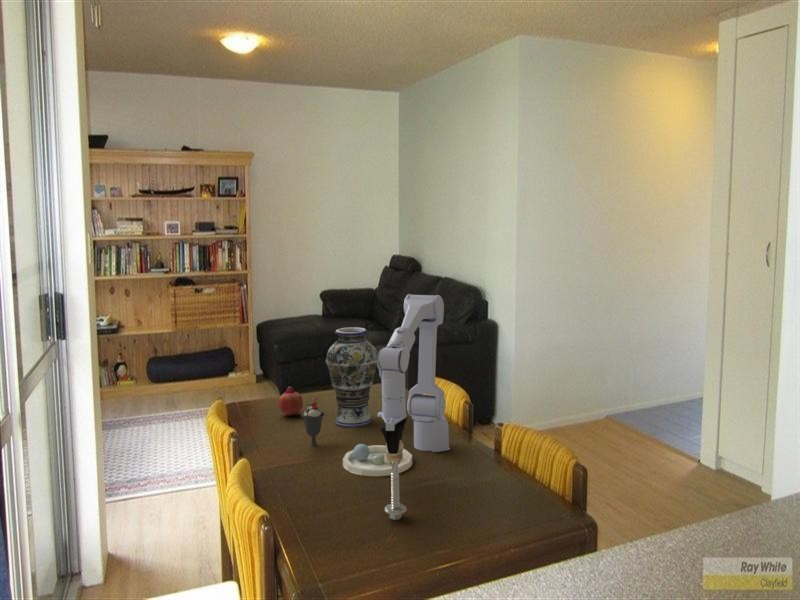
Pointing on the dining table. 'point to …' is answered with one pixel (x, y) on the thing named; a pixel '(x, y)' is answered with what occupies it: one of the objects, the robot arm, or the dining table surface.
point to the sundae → (313, 421)
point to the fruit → (290, 402)
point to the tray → (375, 468)
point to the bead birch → (398, 449)
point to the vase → (352, 376)
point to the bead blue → (361, 452)
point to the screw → (395, 495)
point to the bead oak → (394, 457)
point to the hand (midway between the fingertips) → (394, 449)
